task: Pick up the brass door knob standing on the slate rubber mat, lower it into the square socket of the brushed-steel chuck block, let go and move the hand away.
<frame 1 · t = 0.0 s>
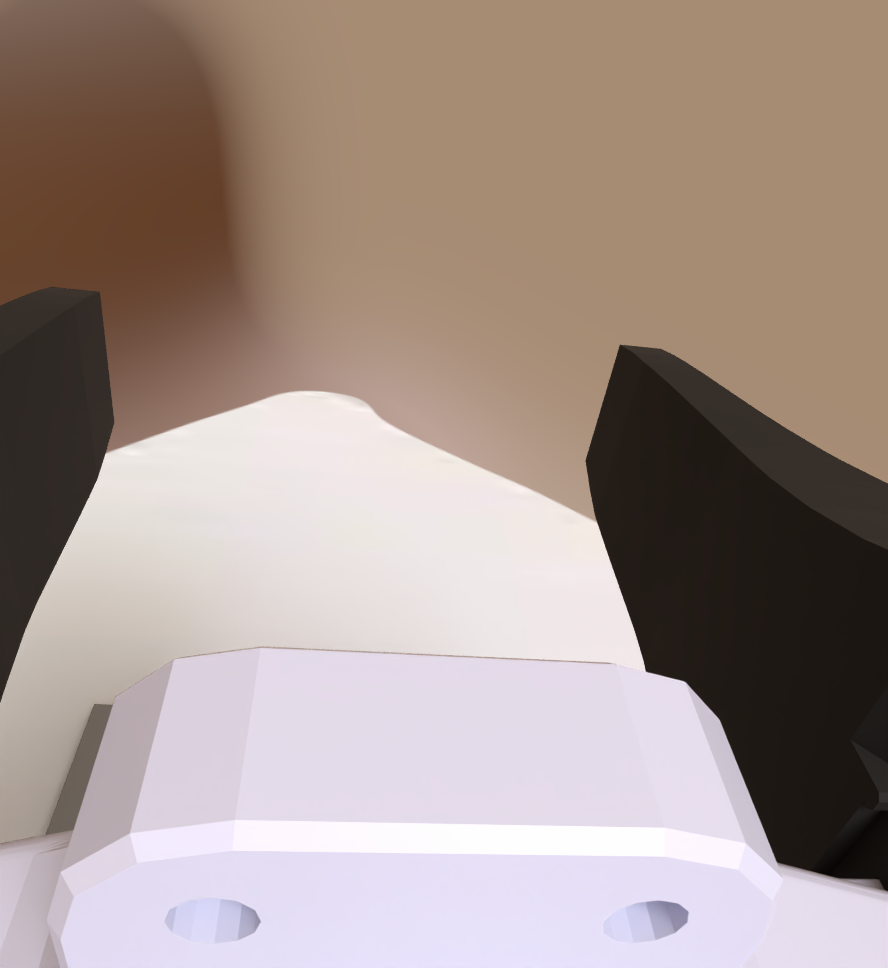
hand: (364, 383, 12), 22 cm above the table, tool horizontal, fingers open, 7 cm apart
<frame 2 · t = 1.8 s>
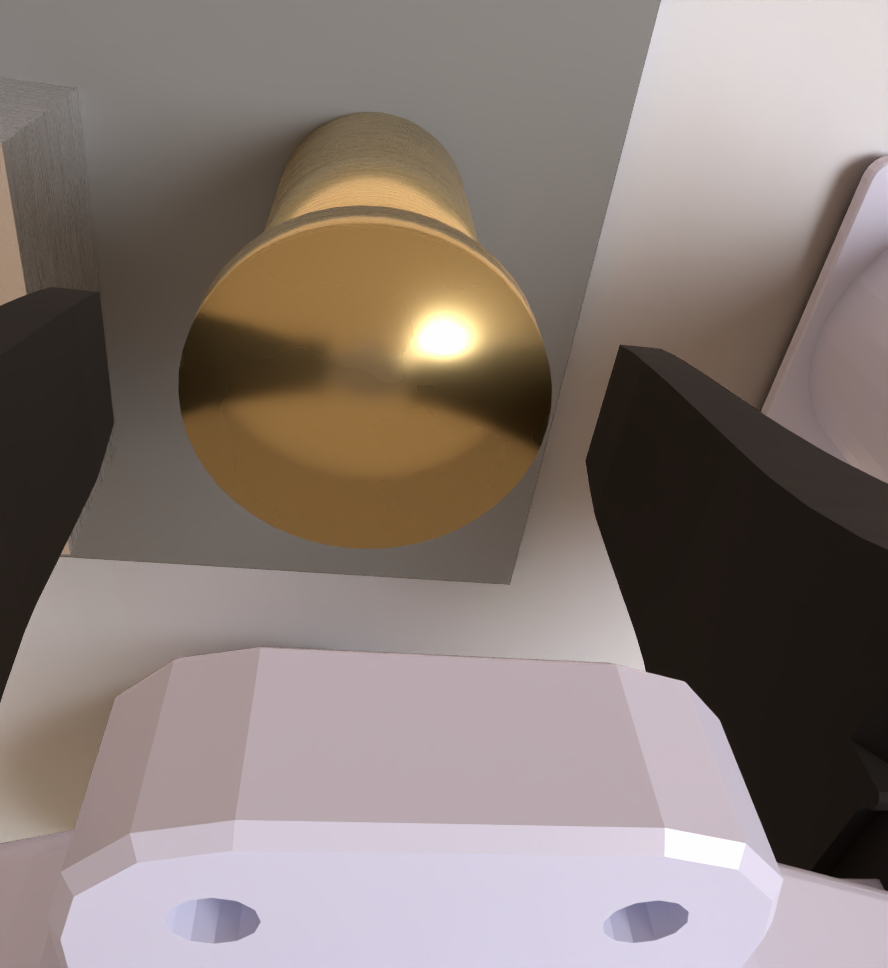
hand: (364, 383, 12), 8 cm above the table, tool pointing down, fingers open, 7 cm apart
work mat: (74, 279, 19), on the table
brass door knob: (372, 212, 18), resting on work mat
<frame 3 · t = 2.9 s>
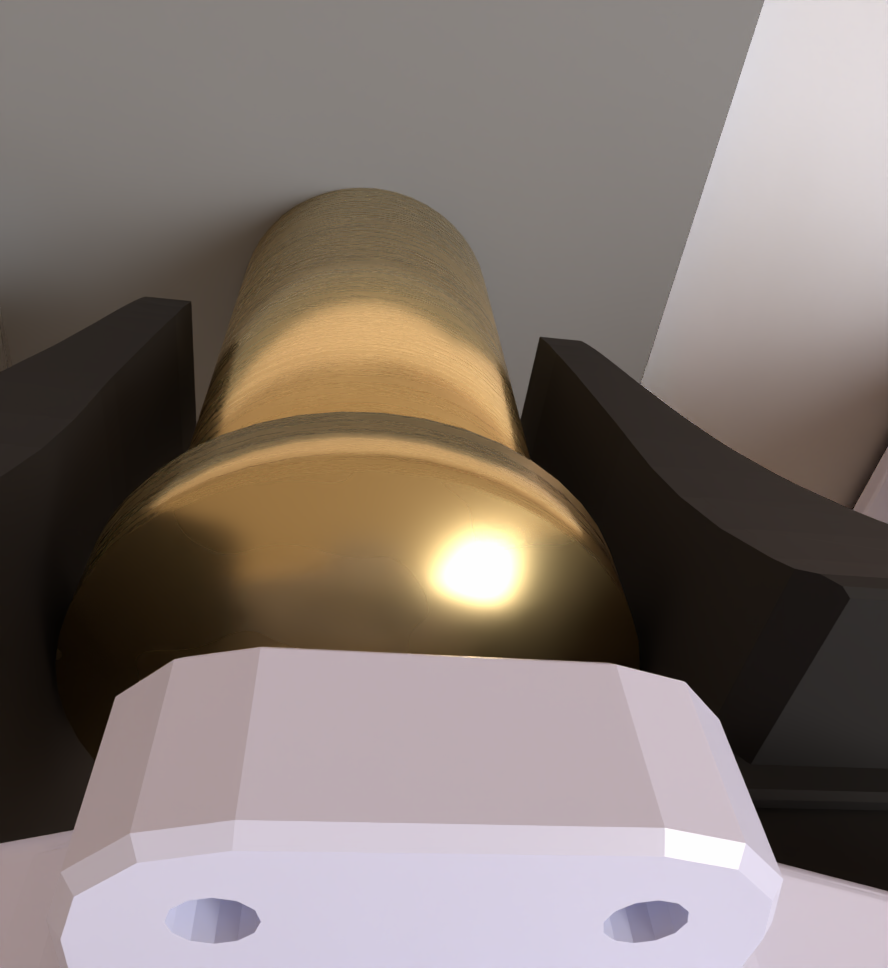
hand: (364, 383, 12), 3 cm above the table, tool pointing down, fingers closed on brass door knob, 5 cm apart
brass door knob: (366, 310, 14), resting on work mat, touching gripper
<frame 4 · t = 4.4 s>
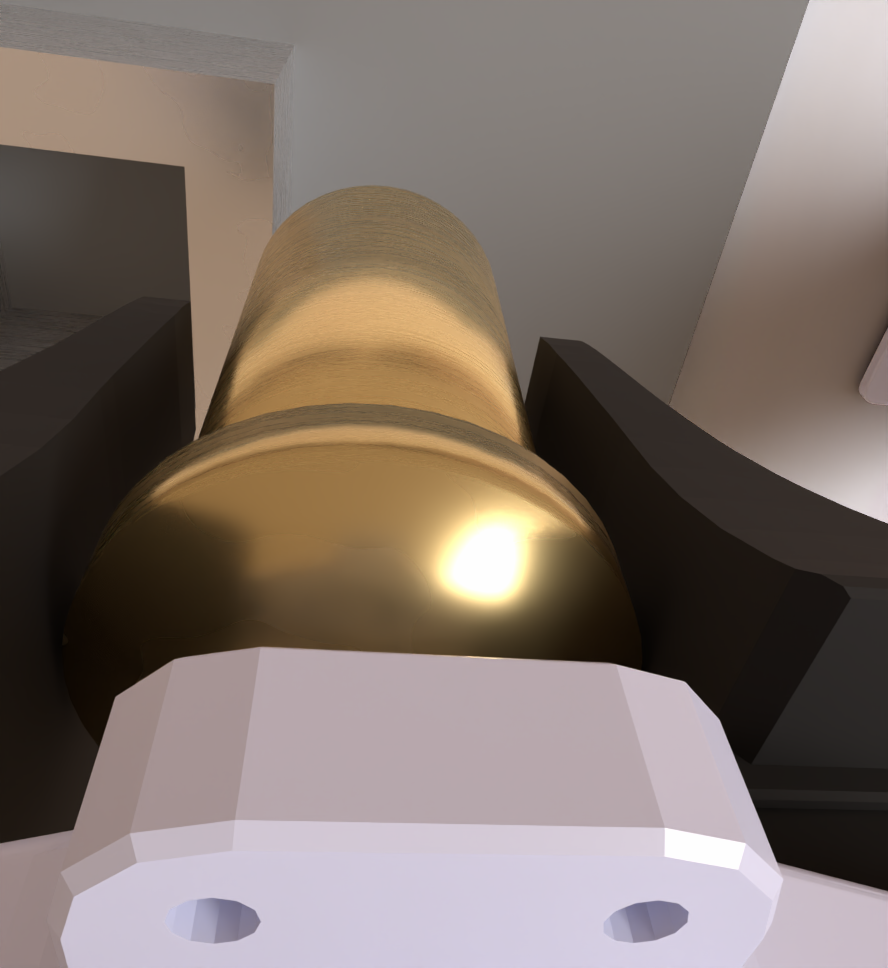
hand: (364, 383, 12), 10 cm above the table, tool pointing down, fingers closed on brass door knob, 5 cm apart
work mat: (262, 226, 20), on the table
chuck block: (109, 216, 20), resting on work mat
brass door knob: (376, 307, 14), point 8 cm above the table, touching gripper
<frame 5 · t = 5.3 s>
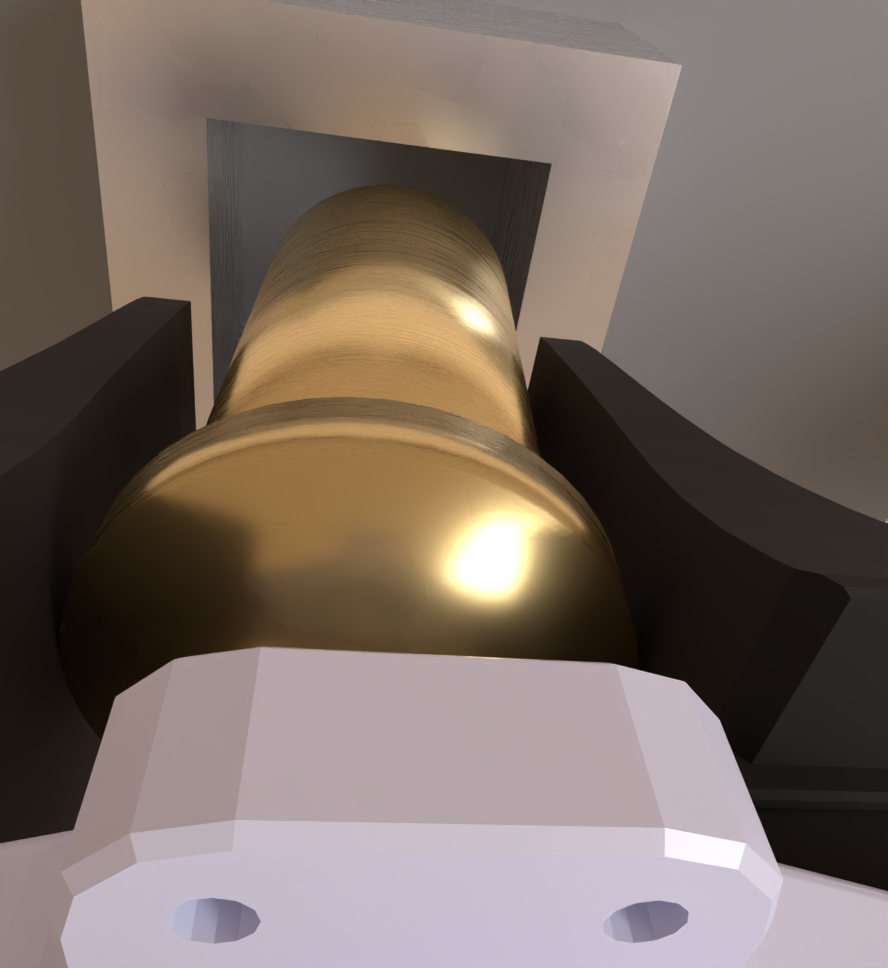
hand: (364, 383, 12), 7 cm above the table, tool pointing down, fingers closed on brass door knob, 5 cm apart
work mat: (531, 231, 18), on the table
chuck block: (370, 220, 17), resting on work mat
brass door knob: (387, 306, 14), point 5 cm above the table, touching gripper
when the fingers open (5 cm above the table, at t = 6.1 s): brass door knob drops 2 cm, resting on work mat.
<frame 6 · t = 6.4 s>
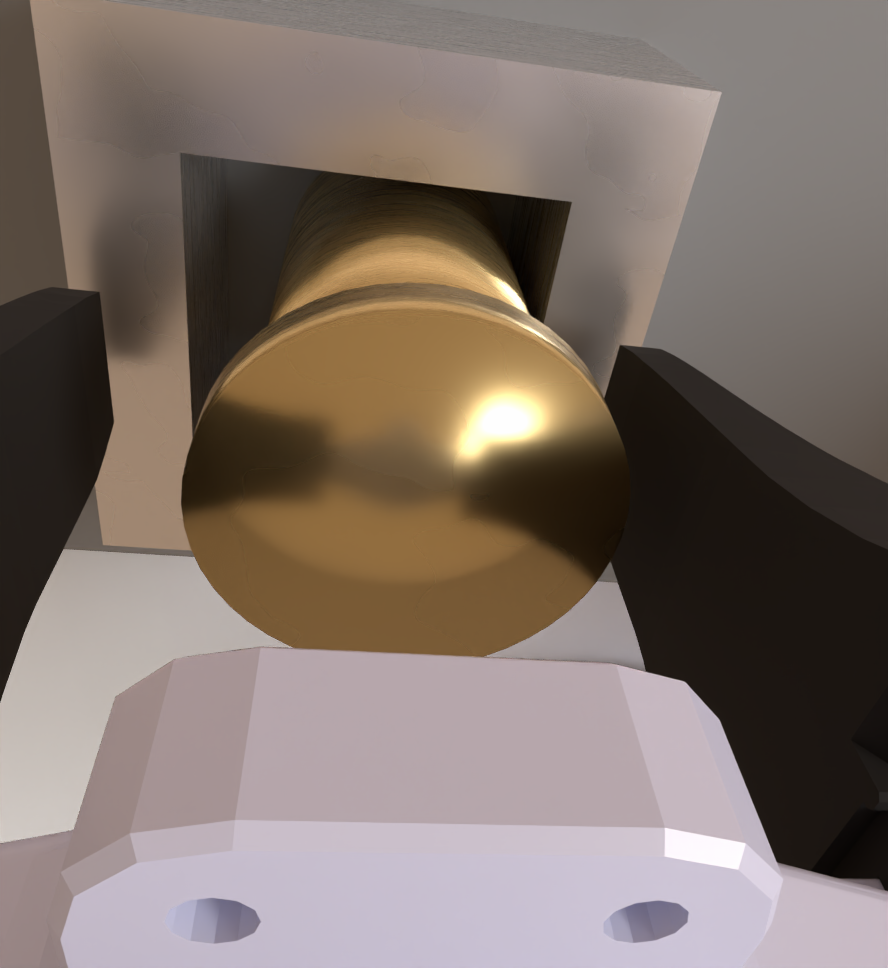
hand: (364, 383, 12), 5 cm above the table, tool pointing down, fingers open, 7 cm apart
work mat: (542, 263, 17), on the table
chuck block: (367, 253, 16), resting on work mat
brass door knob: (396, 254, 16), resting on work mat
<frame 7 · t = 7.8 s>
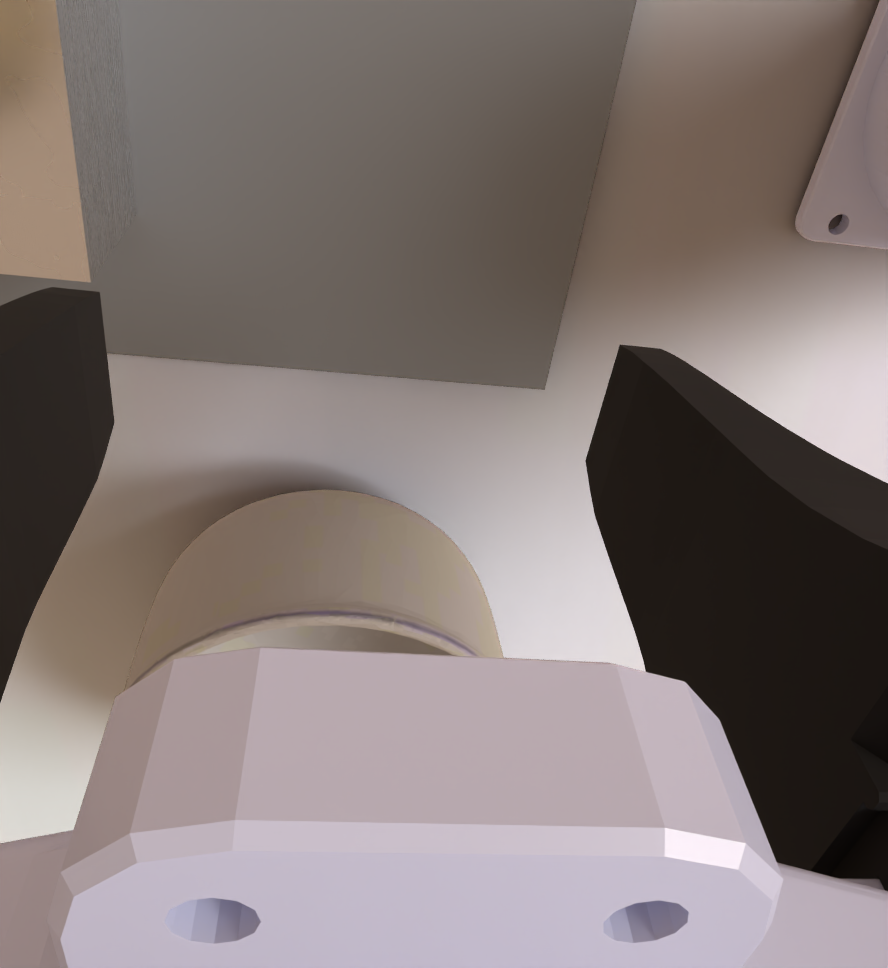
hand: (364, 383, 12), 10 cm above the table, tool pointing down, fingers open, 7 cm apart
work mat: (90, 7, 18), on the table
teacup: (361, 592, 29), on the table
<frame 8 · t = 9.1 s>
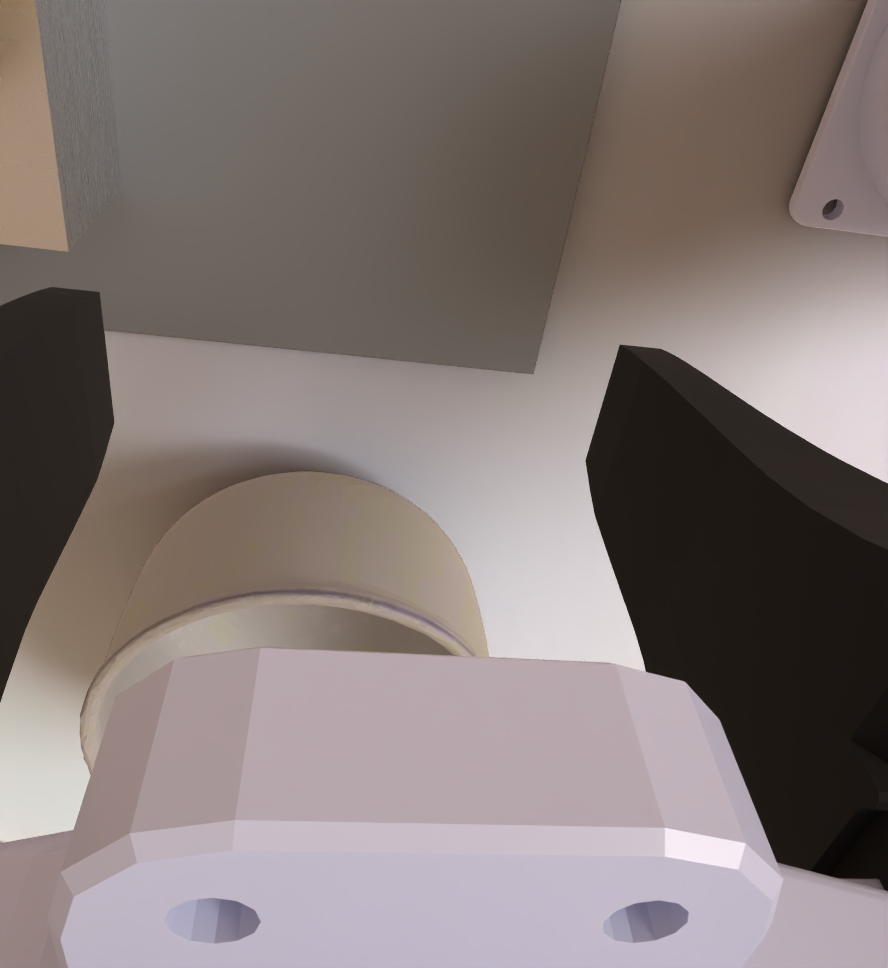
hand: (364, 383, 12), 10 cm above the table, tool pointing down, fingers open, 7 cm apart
teacup: (349, 577, 28), on the table
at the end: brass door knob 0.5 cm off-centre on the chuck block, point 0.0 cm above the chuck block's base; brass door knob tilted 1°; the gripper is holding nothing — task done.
